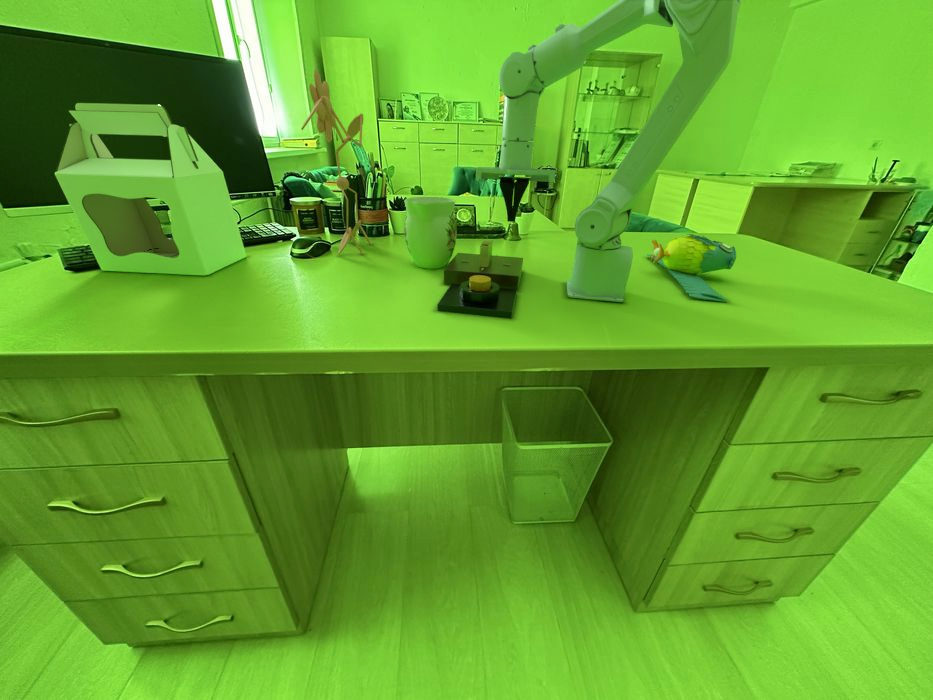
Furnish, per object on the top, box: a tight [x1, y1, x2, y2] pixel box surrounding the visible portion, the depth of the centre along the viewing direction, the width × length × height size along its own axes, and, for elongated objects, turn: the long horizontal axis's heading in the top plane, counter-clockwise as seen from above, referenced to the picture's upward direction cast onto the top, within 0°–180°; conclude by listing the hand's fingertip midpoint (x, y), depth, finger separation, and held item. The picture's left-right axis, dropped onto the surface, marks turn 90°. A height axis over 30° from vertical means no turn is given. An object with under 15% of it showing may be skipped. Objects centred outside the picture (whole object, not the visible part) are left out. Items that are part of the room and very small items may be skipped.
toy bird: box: [646, 233, 737, 303], centre depth 76 cm, size 28×9×15 cm
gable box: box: [54, 102, 247, 277], centre depth 70 cm, size 22×13×28 cm, turn 86°
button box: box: [437, 281, 518, 319], centre depth 62 cm, size 12×10×3 cm
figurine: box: [300, 69, 379, 259], centre depth 81 cm, size 15×26×35 cm, turn 0°
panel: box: [443, 252, 524, 292], centre depth 73 cm, size 14×12×3 cm
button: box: [469, 275, 491, 291], centre depth 61 cm, size 4×4×2 cm
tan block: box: [479, 238, 494, 267], centre depth 71 cm, size 6×2×4 cm, turn 169°
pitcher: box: [403, 196, 458, 270], centre depth 78 cm, size 11×18×14 cm, turn 174°
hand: (511, 220), depth 72 cm, fingers closed
